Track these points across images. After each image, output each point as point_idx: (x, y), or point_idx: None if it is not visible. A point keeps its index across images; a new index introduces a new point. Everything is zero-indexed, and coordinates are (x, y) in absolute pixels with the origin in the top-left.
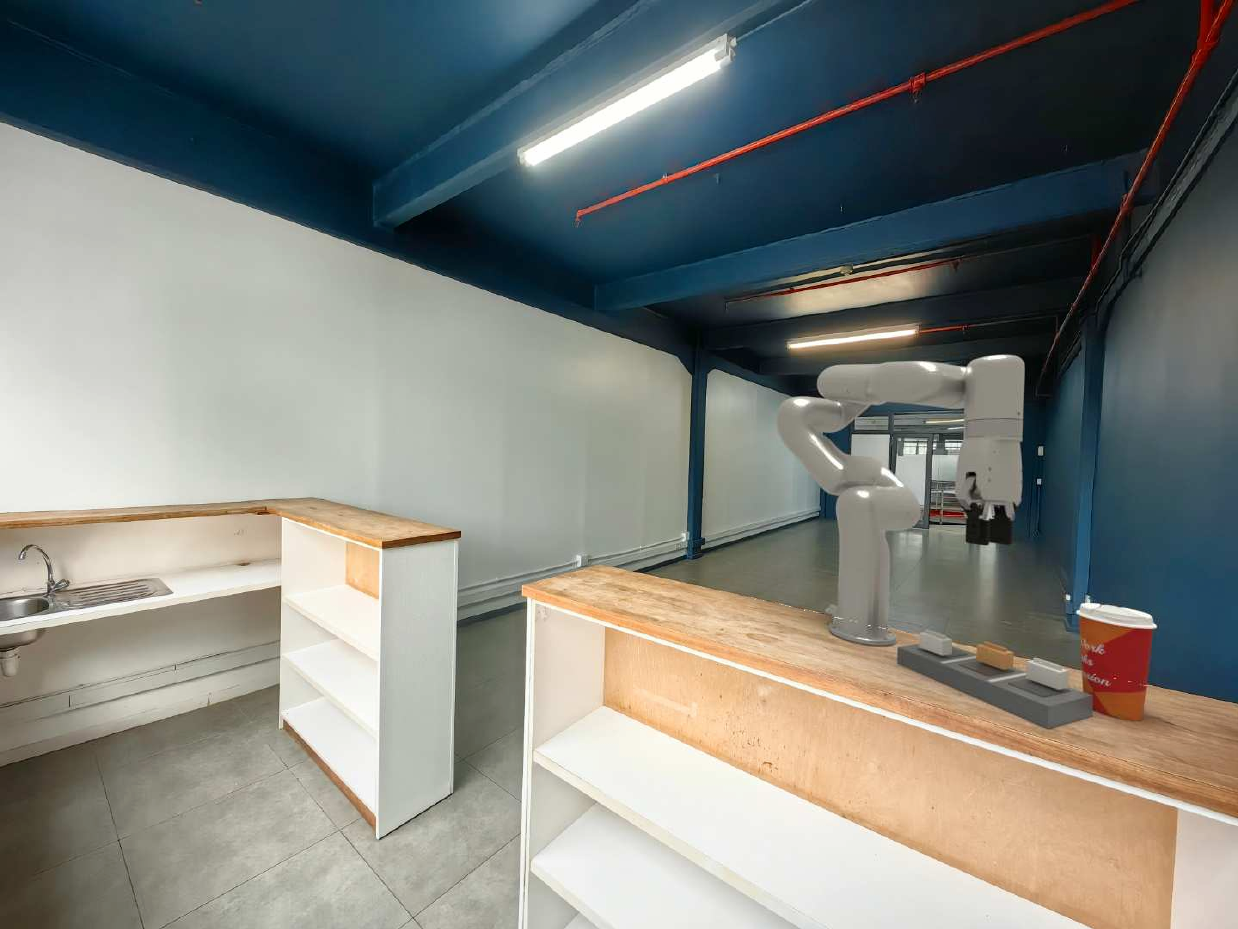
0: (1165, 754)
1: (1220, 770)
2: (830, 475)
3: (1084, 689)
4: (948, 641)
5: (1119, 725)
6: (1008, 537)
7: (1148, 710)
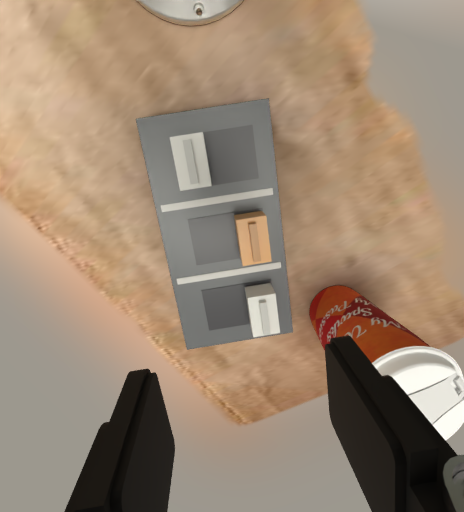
0: (265, 383)
1: (284, 406)
2: None
3: (322, 303)
4: (200, 187)
5: (294, 337)
6: (344, 448)
7: (387, 314)
